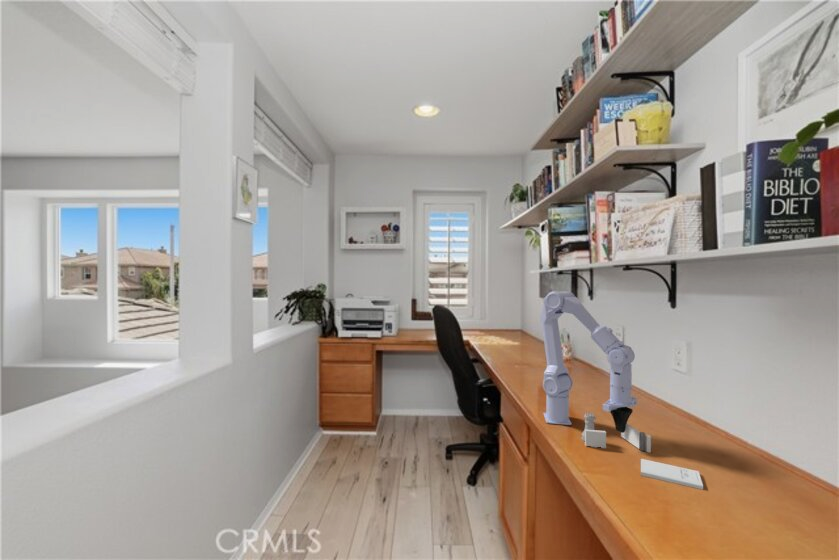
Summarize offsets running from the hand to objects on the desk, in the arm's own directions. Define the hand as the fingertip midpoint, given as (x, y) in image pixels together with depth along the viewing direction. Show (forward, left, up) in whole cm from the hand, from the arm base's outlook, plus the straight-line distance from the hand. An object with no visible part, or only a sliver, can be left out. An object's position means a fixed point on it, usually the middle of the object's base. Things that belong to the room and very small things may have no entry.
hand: (620, 431), depth 115 cm
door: (+3, +3, -2) cm, 4 cm away
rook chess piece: (+3, -9, -3) cm, 10 cm away
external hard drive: (+20, +6, -3) cm, 21 cm away
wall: (+7, -3, -2) cm, 8 cm away
